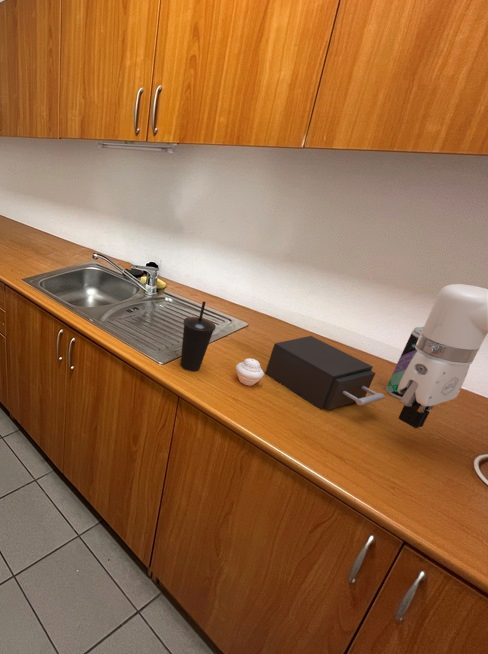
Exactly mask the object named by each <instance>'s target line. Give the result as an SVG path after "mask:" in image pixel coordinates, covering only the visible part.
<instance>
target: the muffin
mask: <svg viewBox="0 0 488 654" xmlns="http://www.w3.org/2000/svg"><path fill="white" fill-rule="evenodd" d="M235 372H236V375H237V378H238V380H239V382H240V383H241V384H242V385H245V386H249V387H250V386H254V385H255V384H257V383H258V382H259V381H261V379H263V378H264V376H265V373H264V370H263V369H262V368H261V364H260V362H259V361H258V360H257V359H256V358H255V359H254V358H252V357H251V358H250V357H248V358H245V359H244V360H243V361H241V362H239V363H237V364H236V366H235Z"/></svg>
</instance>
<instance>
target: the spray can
mask: <svg viewBox="0 0 488 654" xmlns="http://www.w3.org/2000/svg"><path fill="white" fill-rule="evenodd" d="M423 328H424V326H417V327H414V328H413V330H412V331H411V333H410V336H409V337H408V339H407V342H406V344H405V346H404V348H403V350H402V352H401V355H400V357H399V359H398V360H397V363H396V365H395V367H394V370H393V372H392V374H391V375H390V378H389V381H388V383H387V384H386V387H385V391H386V393H387V394H389V395H390V396H392V397H394V398H396V399H399V400H401V398H402V397H403V395H404V394H399V393H398V386H399V383H400V381H401V379H402V377H403V375H404V373H405V371H406V369H407V367H408V365H409V364H410V362H411V360H412V359H413V357H414V355H415V354H416V352H417V350H416V348H415V346H416V343H417V341H418V339H419V337H420V334H421V332H422V330H423Z"/></svg>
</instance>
